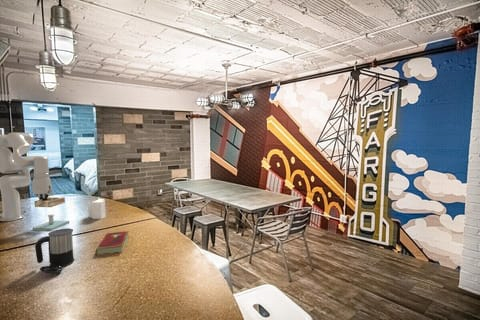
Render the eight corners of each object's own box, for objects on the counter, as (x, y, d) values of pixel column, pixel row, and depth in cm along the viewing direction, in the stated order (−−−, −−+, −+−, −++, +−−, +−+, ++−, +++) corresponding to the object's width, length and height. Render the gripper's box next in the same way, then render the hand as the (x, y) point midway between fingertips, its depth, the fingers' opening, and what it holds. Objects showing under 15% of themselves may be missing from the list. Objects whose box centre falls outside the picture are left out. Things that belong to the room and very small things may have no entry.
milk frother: (71, 256, 121) (69, 226, 120) (83, 266, 111) (81, 234, 110) (33, 268, 110) (31, 235, 109) (43, 280, 100) (40, 244, 99)
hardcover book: (96, 256, 122) (95, 248, 122) (106, 239, 142) (106, 232, 142) (122, 253, 125) (122, 245, 125) (129, 237, 145) (128, 230, 145)
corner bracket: (101, 218, 179) (100, 202, 178) (85, 218, 179) (85, 202, 178) (109, 214, 190) (108, 198, 189) (94, 214, 190) (94, 198, 189)
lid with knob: (32, 229, 157) (31, 218, 157) (51, 222, 171) (51, 211, 170) (51, 230, 156) (50, 218, 155) (69, 223, 170) (68, 212, 169)
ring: (34, 206, 157) (34, 201, 157) (49, 202, 168) (49, 197, 168) (50, 207, 156) (50, 201, 156) (64, 202, 167) (64, 197, 167)
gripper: (25, 176, 158) (27, 205, 160) (47, 176, 157) (49, 205, 158) (36, 174, 166) (37, 202, 167) (57, 175, 164) (59, 202, 166)
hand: (43, 203), depth 163 cm, fingers closed on ring, 1 cm apart
